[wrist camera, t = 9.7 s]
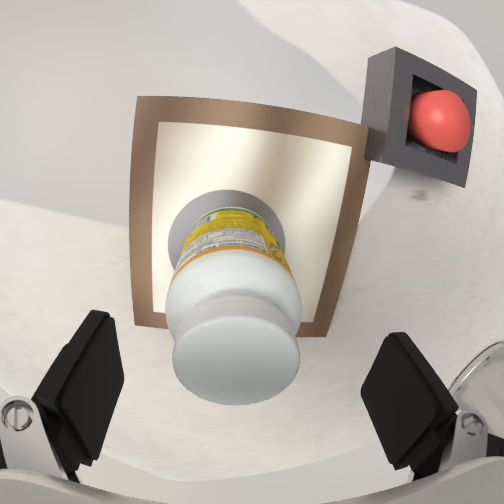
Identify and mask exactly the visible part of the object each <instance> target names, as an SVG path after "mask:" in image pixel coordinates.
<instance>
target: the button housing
mask: <svg viewBox="0 0 504 504" xmlns="http://www.w3.org/2000/svg"><path fill="white" fill-rule="evenodd" d="M440 90H448V91H451V92H454V93H455V94H456V95H458V96H459V97H460V98H461V100H462V101H463V102H464V104H465V106H466V108H467V110H468V113H469V117H470V125H471V128H470V136H469V139H468V141H467V143H466V145H465V146H464V147H463V148H462V149H461V150H460V151H457V152H447V151H442V150H436V149H430V148H424V147H421V146H419V145H418V144H416V143H415V142H414V141H413V140H412V139H411V138H410V136H409V134H408V133H407V127H408V120H409V112H410V102H411V96H412V95H413V94H415V93H420V92H429V91H440ZM476 99H477V90H476V89H474V88H473V87H471V86H469V85H468V84H466V83H465V82H463V81H461V80H460V79H458V78H456V77H455V76H453V75H451V74H450V73H448V72H446V71H444V70H442V69H441V68H439V67H437V66H435V65H433V64H431V63H429V62H427V61H425V60H423V59H421V58H419V57H417V56H415V55H413V54H411V53H409V52H407V51H404V50H402V49H400V48H398V47H393V48H391V49H388V50H386V51H384V52H381V53H379V54H377V55H374V56H372V57H370V58H368V68H367V78H366V88H365V96H364V104H363V113H362V120H361V125H364V126H367V127H369V129H368V136H367V142H366V149H365V155H364V158H365V159H369V160H373V161H376V162H381V163H384V164H388V165H392V166H395V167H399V168H403V169H406V170H410V171H413V172H416V173H420V174H423V175H426V176H429V177H433V178H436V179H439V180H442V181H445V182H448V183H451V184H454V185H457V186H460V187H463V188H465V185H466V180H467V175H468V169H469V163H470V157H471V150H472V143H473V135H474V126H475V115H476Z"/></svg>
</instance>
